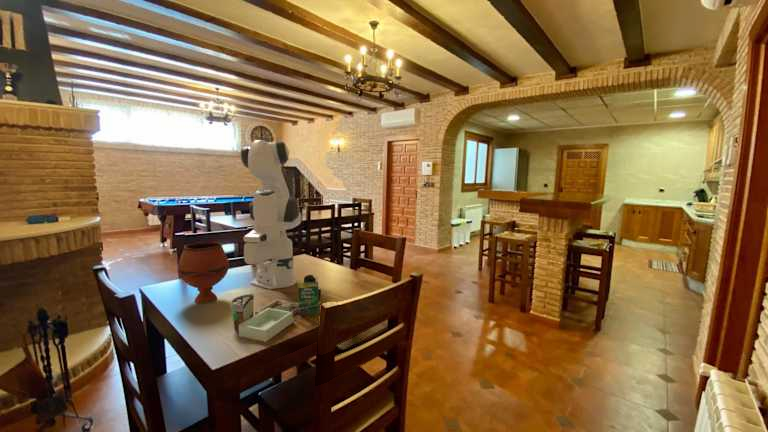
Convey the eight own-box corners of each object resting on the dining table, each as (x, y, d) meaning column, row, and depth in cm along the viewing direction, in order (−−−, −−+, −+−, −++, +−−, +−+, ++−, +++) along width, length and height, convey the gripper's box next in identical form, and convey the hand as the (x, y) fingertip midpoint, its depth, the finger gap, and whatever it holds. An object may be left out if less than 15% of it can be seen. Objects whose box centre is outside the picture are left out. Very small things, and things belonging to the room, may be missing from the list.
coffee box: (297, 315, 125) (297, 283, 124) (298, 312, 128) (298, 281, 127) (317, 315, 126) (317, 283, 125) (318, 312, 129) (318, 281, 127)
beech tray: (255, 315, 125) (255, 311, 124) (276, 302, 137) (276, 299, 137) (284, 320, 120) (284, 317, 120) (303, 307, 133) (303, 304, 133)
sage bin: (238, 336, 108) (238, 325, 108) (268, 317, 123) (268, 307, 122) (265, 341, 105) (265, 330, 104) (292, 322, 119) (292, 312, 119)
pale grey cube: (280, 314, 126) (280, 306, 126) (283, 310, 130) (283, 302, 129) (289, 314, 126) (289, 306, 126) (291, 310, 130) (291, 302, 129)
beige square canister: (304, 306, 134) (304, 279, 133) (300, 300, 141) (300, 274, 139) (320, 303, 138) (321, 277, 136) (316, 298, 144) (316, 272, 143)
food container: (238, 318, 121) (237, 293, 120) (254, 318, 122) (253, 293, 121) (224, 333, 109) (223, 306, 108) (243, 333, 110) (242, 306, 109)
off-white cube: (261, 276, 116) (260, 263, 116) (268, 273, 120) (267, 261, 120) (270, 277, 115) (269, 264, 115) (277, 274, 119) (276, 261, 118)
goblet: (169, 304, 133) (166, 246, 130) (209, 289, 151) (207, 238, 148) (201, 312, 126) (198, 251, 123) (239, 296, 144) (237, 242, 141)
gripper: (277, 229, 127) (279, 262, 128) (239, 237, 108) (241, 277, 109) (291, 230, 125) (292, 264, 126) (254, 238, 106) (256, 278, 107)
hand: (268, 270), depth 117 cm, fingers closed on off-white cube, 4 cm apart
